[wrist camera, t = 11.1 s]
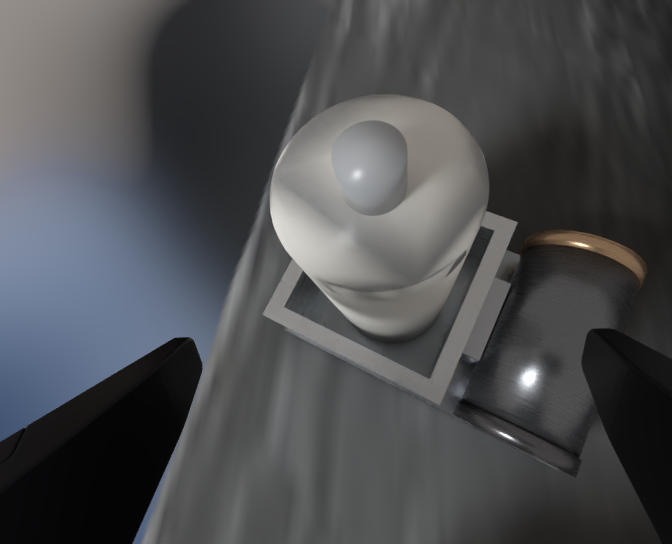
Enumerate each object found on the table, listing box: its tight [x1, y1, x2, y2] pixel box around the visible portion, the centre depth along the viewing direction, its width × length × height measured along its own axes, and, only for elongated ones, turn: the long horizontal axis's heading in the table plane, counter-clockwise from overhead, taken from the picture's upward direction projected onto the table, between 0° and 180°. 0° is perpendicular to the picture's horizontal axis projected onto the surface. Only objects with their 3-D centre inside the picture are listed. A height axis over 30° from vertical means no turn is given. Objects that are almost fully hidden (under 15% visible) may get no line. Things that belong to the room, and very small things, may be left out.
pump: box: [270, 94, 489, 343], centre depth 16 cm, size 6×6×14 cm
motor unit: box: [263, 211, 648, 477], centre depth 20 cm, size 10×16×6 cm, turn 63°
